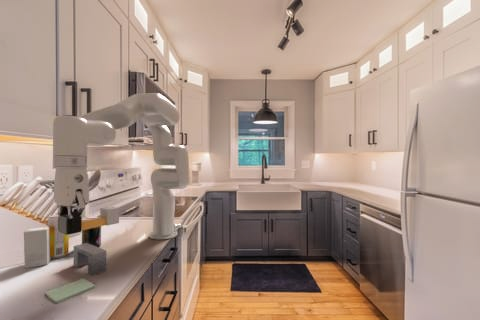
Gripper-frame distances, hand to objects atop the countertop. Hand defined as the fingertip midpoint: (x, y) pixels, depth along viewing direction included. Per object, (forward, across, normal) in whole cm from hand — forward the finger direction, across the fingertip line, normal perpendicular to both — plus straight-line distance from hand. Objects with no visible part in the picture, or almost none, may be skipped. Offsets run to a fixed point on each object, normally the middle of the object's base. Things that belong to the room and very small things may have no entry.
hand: (69, 230), depth 63 cm
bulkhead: (+16, +11, -10) cm, 22 cm away
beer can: (+17, +31, -9) cm, 36 cm away
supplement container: (+17, +30, -20) cm, 39 cm away
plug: (0, 0, -5) cm, 5 cm away
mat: (+16, 0, -1) cm, 16 cm away
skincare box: (+17, +28, -2) cm, 33 cm away
